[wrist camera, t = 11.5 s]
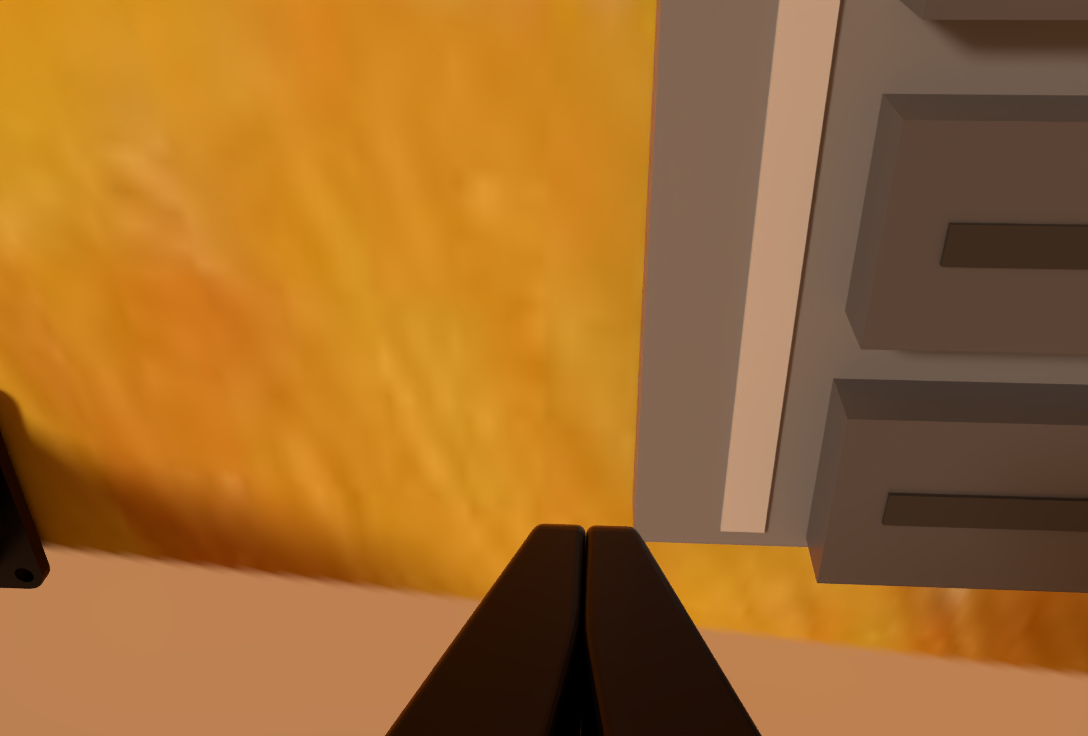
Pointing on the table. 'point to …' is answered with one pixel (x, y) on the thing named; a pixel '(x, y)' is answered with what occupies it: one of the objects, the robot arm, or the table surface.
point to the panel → (717, 226)
